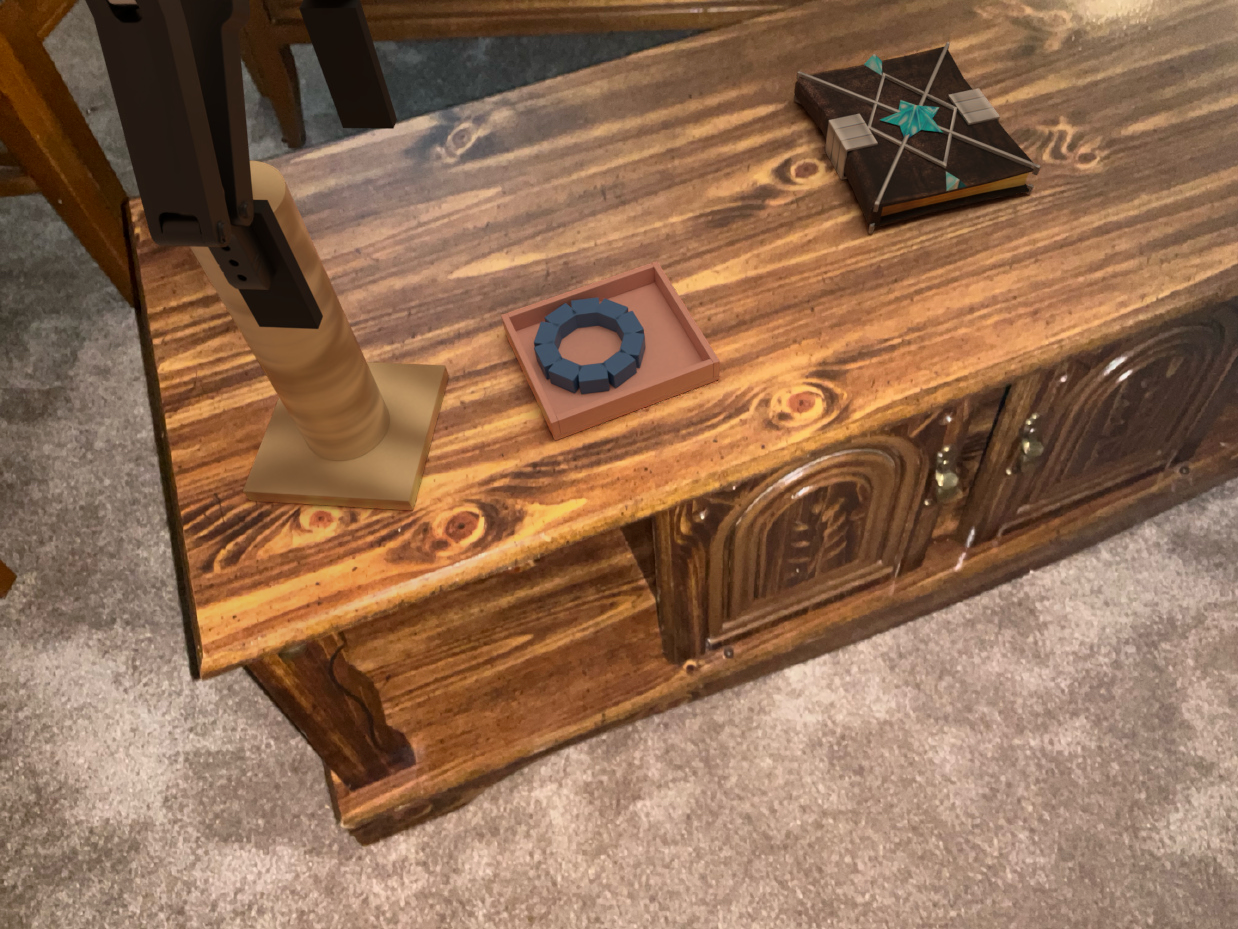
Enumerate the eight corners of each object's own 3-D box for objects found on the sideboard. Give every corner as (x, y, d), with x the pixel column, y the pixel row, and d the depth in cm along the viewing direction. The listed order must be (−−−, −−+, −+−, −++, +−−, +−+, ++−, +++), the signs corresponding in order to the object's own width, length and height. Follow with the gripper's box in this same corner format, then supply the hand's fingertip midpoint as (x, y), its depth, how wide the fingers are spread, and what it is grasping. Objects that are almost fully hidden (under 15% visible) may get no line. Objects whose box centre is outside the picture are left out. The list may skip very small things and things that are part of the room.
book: (792, 101, 103) (796, 59, 99) (940, 69, 104) (950, 26, 100) (867, 235, 91) (875, 194, 87) (1035, 198, 92) (1050, 155, 88)
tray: (555, 440, 80) (551, 423, 78) (505, 333, 87) (500, 314, 85) (719, 379, 83) (720, 360, 81) (658, 279, 90) (657, 260, 88)
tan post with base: (413, 510, 77) (280, 235, 53) (249, 501, 79) (47, 229, 55) (449, 375, 85) (347, 80, 61) (299, 369, 87) (141, 79, 62)
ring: (610, 409, 81) (609, 396, 80) (516, 368, 84) (513, 355, 83) (664, 334, 85) (663, 320, 84) (572, 298, 88) (570, 284, 87)
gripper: (30, -142, 21) (338, 430, 38) (340, -479, 34) (462, 57, 52) (-274, -134, 22) (163, 421, 39) (146, -465, 35) (330, 57, 53)
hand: (334, 215), depth 46 cm, fingers open, 13 cm apart
